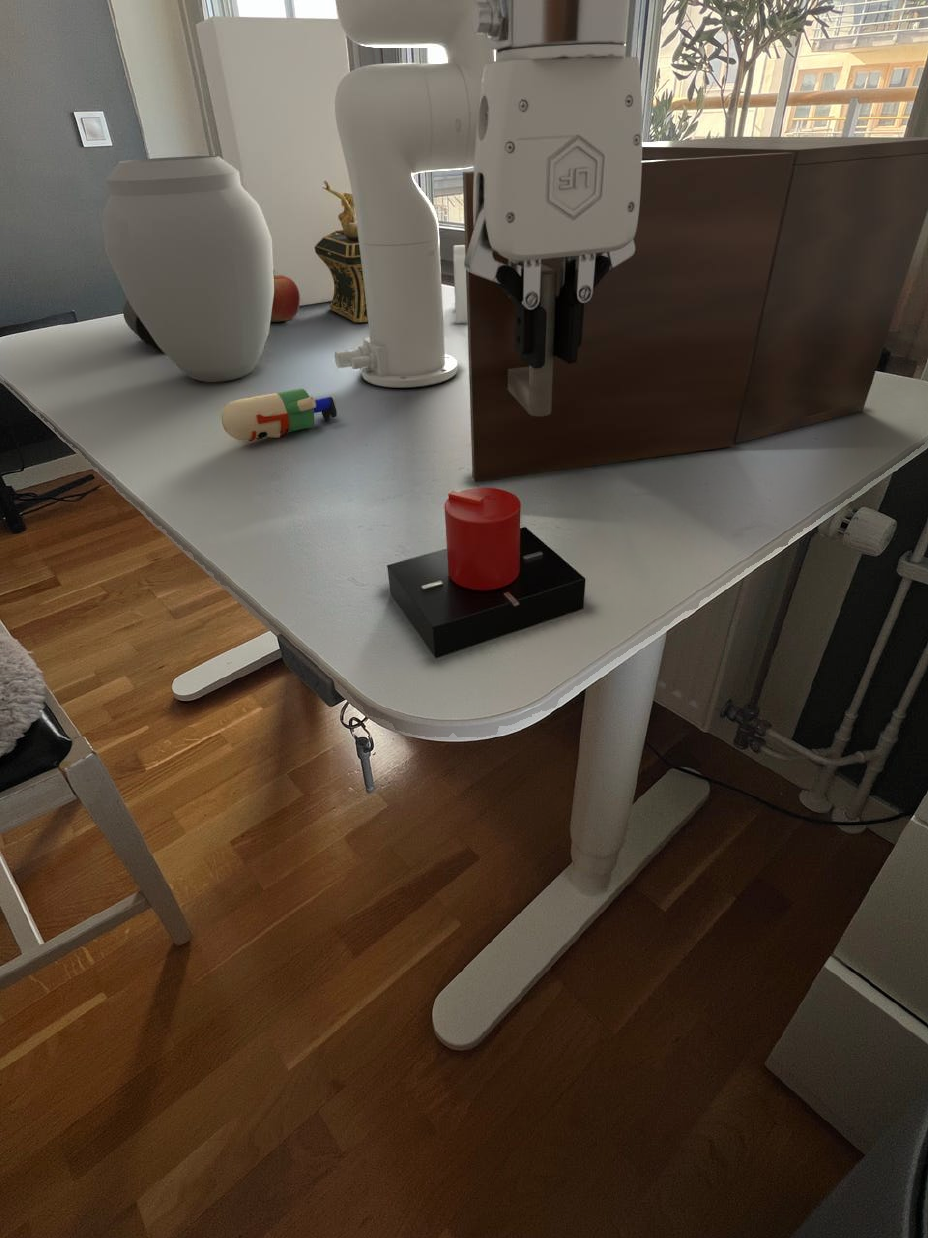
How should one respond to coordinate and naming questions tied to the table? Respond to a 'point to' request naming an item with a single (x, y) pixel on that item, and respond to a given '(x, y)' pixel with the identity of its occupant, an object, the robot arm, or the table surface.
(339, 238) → the decorative box
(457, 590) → the valve panel
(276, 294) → the apple
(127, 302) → the end cap
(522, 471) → the cabinet door
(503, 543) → the red rotary knob
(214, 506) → the table surface
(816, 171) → the cabinet
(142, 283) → the vase
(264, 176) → the storage box
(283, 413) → the toy figurine
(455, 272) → the handheld gaming console
